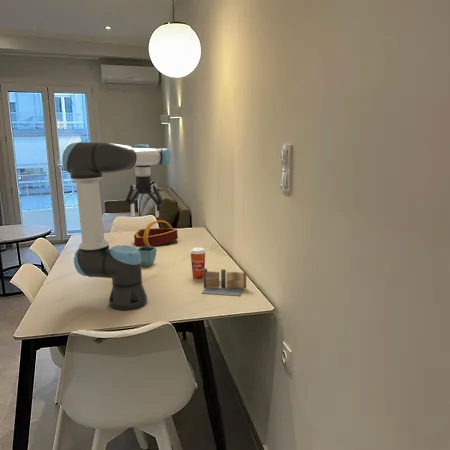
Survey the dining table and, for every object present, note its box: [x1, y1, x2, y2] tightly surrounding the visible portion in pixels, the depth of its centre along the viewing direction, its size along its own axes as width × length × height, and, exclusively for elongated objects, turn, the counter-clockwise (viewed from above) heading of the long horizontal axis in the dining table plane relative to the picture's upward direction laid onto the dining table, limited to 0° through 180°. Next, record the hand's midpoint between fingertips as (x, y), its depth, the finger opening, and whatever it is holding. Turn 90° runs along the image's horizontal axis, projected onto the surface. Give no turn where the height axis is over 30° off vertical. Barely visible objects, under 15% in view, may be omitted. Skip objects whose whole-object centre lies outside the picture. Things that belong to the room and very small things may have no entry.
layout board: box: [201, 280, 244, 297], centre depth 178 cm, size 17×17×1 cm
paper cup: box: [189, 247, 207, 280], centre depth 192 cm, size 8×8×14 cm
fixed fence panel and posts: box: [203, 268, 227, 288], centre depth 178 cm, size 2×10×8 cm, turn 79°
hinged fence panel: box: [226, 270, 247, 289], centre depth 176 cm, size 9×2×8 cm, turn 79°
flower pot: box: [137, 246, 157, 267], centre depth 213 cm, size 9×9×9 cm
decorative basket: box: [133, 219, 179, 248], centre depth 264 cm, size 34×29×15 cm
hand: (145, 216), depth 204 cm, fingers open, 13 cm apart
